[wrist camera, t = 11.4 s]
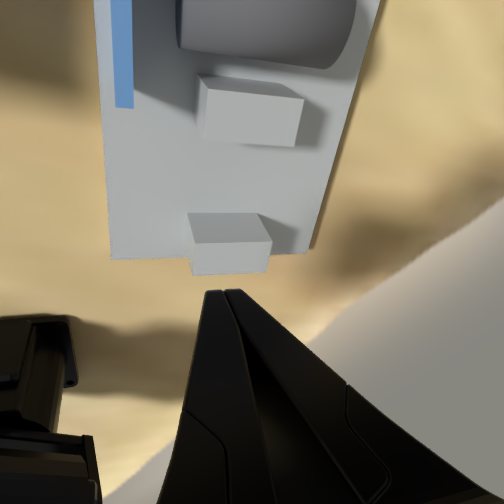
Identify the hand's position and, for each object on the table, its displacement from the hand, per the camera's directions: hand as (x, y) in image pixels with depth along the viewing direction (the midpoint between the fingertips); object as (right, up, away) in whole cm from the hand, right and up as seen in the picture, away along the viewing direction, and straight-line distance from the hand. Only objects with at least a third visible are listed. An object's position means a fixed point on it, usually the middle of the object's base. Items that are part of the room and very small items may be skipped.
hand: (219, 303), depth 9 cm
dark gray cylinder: (+1, +11, +7) cm, 13 cm away
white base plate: (0, +9, +9) cm, 13 cm away
